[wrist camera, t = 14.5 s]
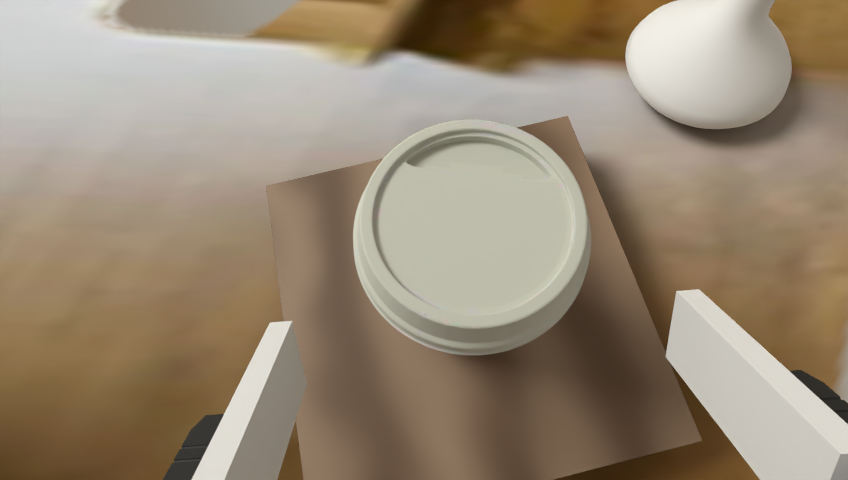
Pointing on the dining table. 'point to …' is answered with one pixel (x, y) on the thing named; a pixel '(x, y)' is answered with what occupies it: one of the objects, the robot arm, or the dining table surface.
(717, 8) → the flower in vase
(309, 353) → the walnut base
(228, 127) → the dining table surface
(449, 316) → the coffee cup
